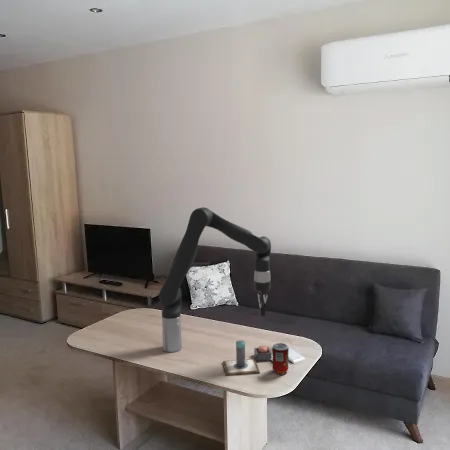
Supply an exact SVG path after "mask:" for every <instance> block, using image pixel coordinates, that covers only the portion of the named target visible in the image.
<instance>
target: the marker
mask: <svg viewBox="0 0 450 450" xmlns="http://www.w3.org/2000/svg"><path fill="white" fill-rule="evenodd" d="M235 352H236V353H235V355H236V357H235V358H236V359H235V360H236V366H237V367H245V359H246V341H244V340H236V342H235Z"/></svg>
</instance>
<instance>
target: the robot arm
mask: <svg viewBox="0 0 450 450" xmlns="http://www.w3.org/2000/svg"><path fill="white" fill-rule="evenodd" d="M206 227H209V228H212V229H215V230H217V231H218V232H220V233H222V234H223V235H224V236H226V237H228V238H229V239H231V240H232V241H235V242H237V243H239V244H240V245H241V244H242V245H244V246H245V247H246V248H248V249H250V250H251V251H253V252H255V253H256V258H255V260H254V276H253V281H254V282H253V285H254V291H256V292H257V299H258V300H257V301H258V305H259V315H260V317H265V316H266V309H267V307H268V303H269V299H268V293H267V292H269V291H271V261H270V259H271V251H272V243H271V239H269V238H268V237H267V236H260V237H259V236H257V235H255V234H253V232H252V231H251V230H249V229H246V228H245V227H242V226H240V225H238V224H235V223H233V222H231V221H229V220H226V219H225V218H223V217H221V216H220V215H219V214H216V213H215V212H214V211H212V210H211V209H209V208H208V207H198V208H196V209H194V210H193V211H192V212H191V213H190V216H189V220H188V224H187V226H186V230H185V233H184V235H183V237H182V239H181V242H180V243H179V246H178V248H177V251H176V253H175V255H174V258H173V260H172V263H171V267H170V269H169V273H168V274H167V277H166V280H165V281H164V283H163V285H162V287H161V289H160V291H159V293H158V300H159V301H160V303H161V304H162V305H163V307H162V310H161V320H162V322H161V323H162V328H161V329H162V332H161V333H162V351H163V352H167V353H176V352H178V351H181V350H182V347H183V346H182V320H181V319H182V318H181V316H182V315H181V312H182V302H183V300H182V298H183V297H182V296H183V295H182V289H181V288H180V287H181V284H182V282H183V280H184V279H185V277H186V276H187V275H188V272H190V269H191V268H192V266H193V263H194V261H195V259H196V257H197V254H198V246H199V240H200V238H201V235H202V233H203V232H204V229H205V228H206Z"/></svg>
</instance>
